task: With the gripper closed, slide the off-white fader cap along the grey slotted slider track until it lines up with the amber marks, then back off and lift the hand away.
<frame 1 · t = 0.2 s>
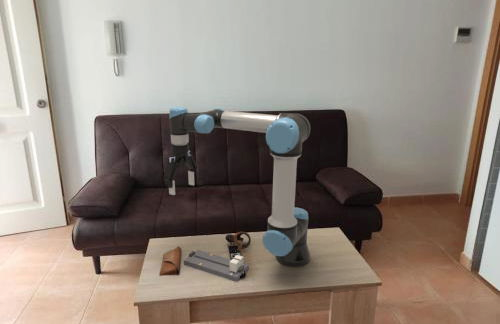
hand: (182, 189, 164), 28 cm above the table, tool pointing down, fingers open, 13 cm apart
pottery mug: (238, 246, 172), on the table
sunglasses case: (171, 264, 157), on the table
fader: (236, 263, 149), point 5 cm above the table, slide at 0.0 cm
grey slotted slider track: (215, 266, 155), on the table
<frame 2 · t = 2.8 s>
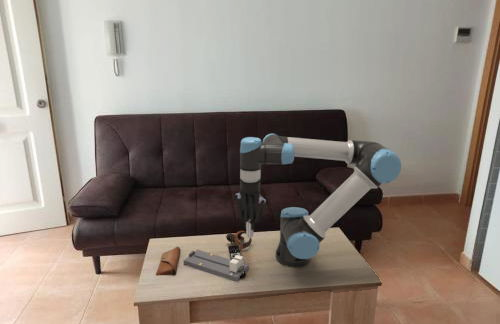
hand: (249, 236, 143), 18 cm above the table, tool pointing down, fingers closed
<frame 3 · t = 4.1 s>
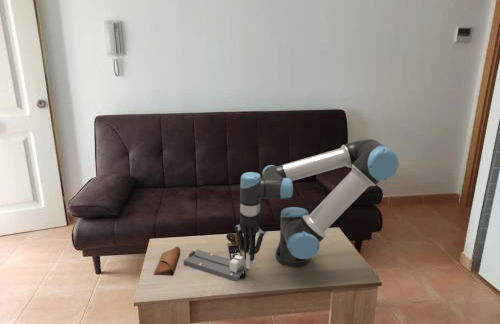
hand: (249, 266, 147), 5 cm above the table, tool pointing down, fingers closed
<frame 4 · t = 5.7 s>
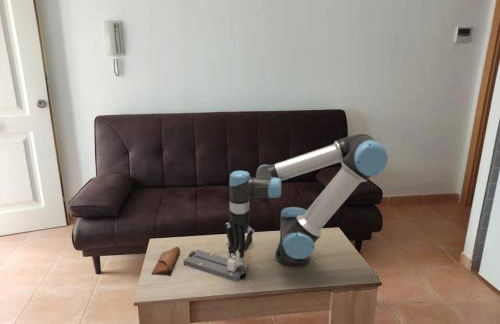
hand: (239, 263, 149), 5 cm above the table, tool pointing down, fingers closed
fader: (234, 262, 150), point 5 cm above the table, slide at 1.0 cm, touching gripper
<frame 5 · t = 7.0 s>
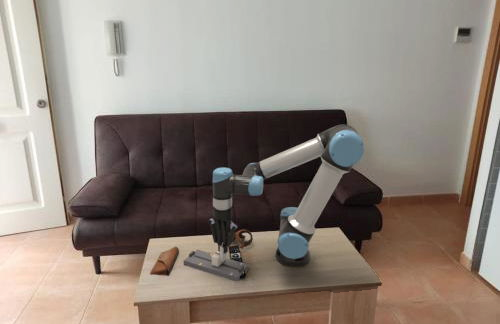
hand: (223, 258, 152), 5 cm above the table, tool pointing down, fingers closed
fader: (218, 258, 153), point 5 cm above the table, slide at 8.6 cm, touching gripper
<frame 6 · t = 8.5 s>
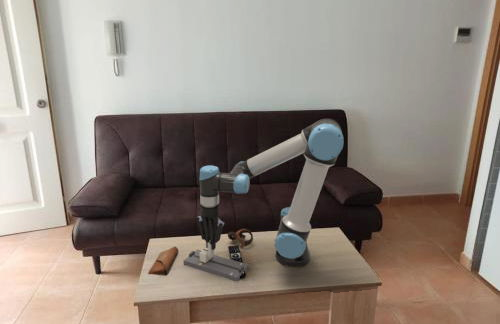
hand: (211, 255, 155), 5 cm above the table, tool pointing down, fingers closed
fader: (206, 254, 156), point 5 cm above the table, slide at 14.6 cm, touching gripper
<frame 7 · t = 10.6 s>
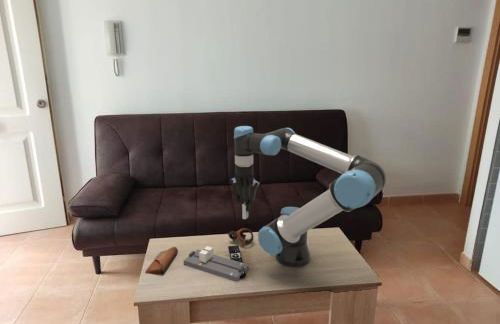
hand: (245, 217, 156), 20 cm above the table, tool pointing down, fingers closed
fader: (206, 254, 156), point 5 cm above the table, slide at 14.7 cm
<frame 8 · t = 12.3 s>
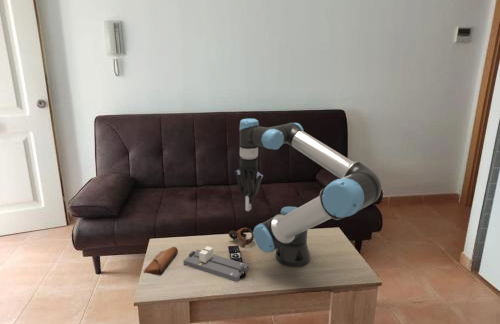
hand: (248, 209, 157), 22 cm above the table, tool pointing down, fingers closed
at the end: fader slide at 14.7 cm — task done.
